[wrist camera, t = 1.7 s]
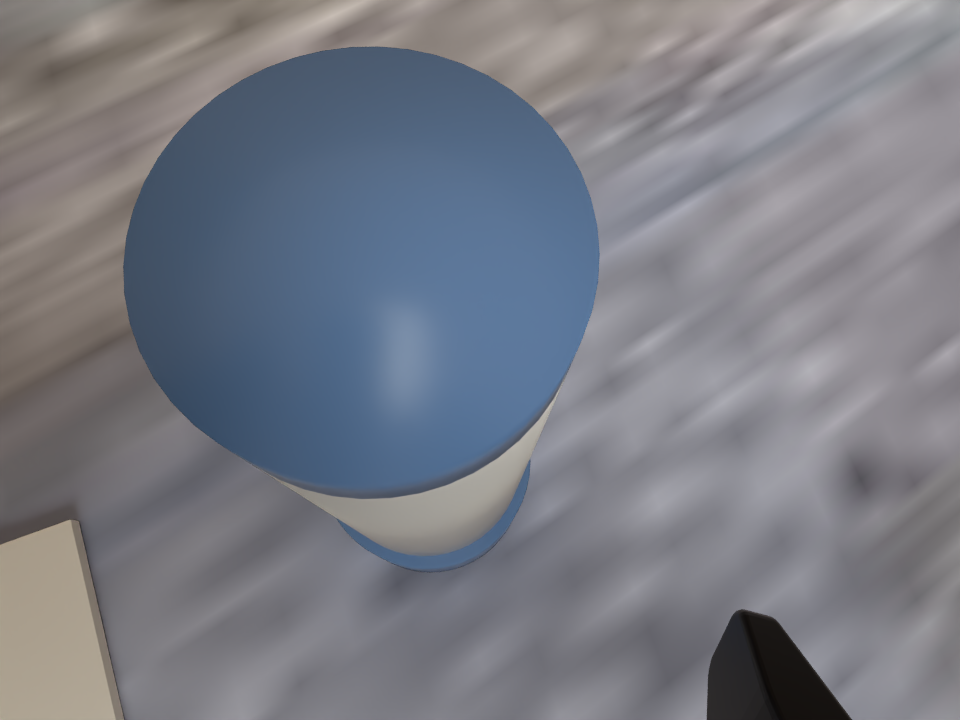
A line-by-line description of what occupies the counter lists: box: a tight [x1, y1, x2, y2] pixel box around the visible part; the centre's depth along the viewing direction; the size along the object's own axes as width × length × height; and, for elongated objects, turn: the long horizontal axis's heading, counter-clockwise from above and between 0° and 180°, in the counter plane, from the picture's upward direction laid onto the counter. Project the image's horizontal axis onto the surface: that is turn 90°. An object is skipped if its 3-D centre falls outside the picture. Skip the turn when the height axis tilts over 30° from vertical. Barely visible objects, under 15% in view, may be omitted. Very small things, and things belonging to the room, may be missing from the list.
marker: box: [123, 47, 600, 572], centre depth 13 cm, size 4×4×13 cm
